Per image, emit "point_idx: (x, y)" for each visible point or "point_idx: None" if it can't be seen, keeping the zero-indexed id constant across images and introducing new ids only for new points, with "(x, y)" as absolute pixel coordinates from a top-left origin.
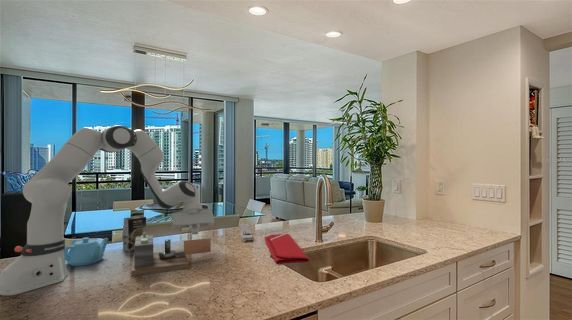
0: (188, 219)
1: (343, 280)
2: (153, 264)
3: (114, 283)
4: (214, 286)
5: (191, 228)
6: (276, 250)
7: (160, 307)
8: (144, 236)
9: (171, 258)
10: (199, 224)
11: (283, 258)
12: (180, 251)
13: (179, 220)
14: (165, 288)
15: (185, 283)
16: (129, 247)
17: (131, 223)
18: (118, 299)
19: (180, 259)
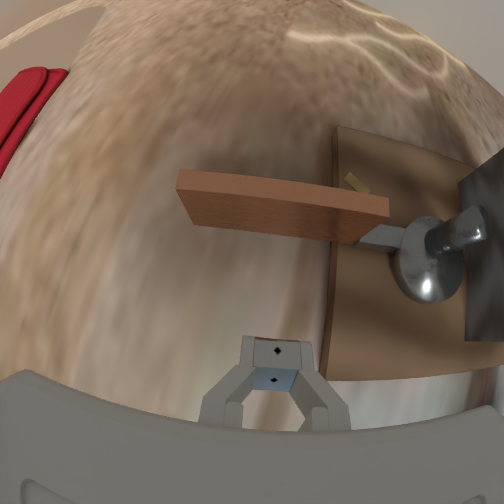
0: (376, 498)
1: (74, 9)
2: (458, 194)
3: None
4: (282, 19)
5: (321, 383)
6: (8, 124)
7: (386, 22)
8: None
9: None
10: (202, 419)
11: (48, 70)
12: (377, 240)
13: (475, 462)
14: (392, 61)
15: (348, 53)
16: None
17: None
18: (460, 82)
19: (370, 190)
